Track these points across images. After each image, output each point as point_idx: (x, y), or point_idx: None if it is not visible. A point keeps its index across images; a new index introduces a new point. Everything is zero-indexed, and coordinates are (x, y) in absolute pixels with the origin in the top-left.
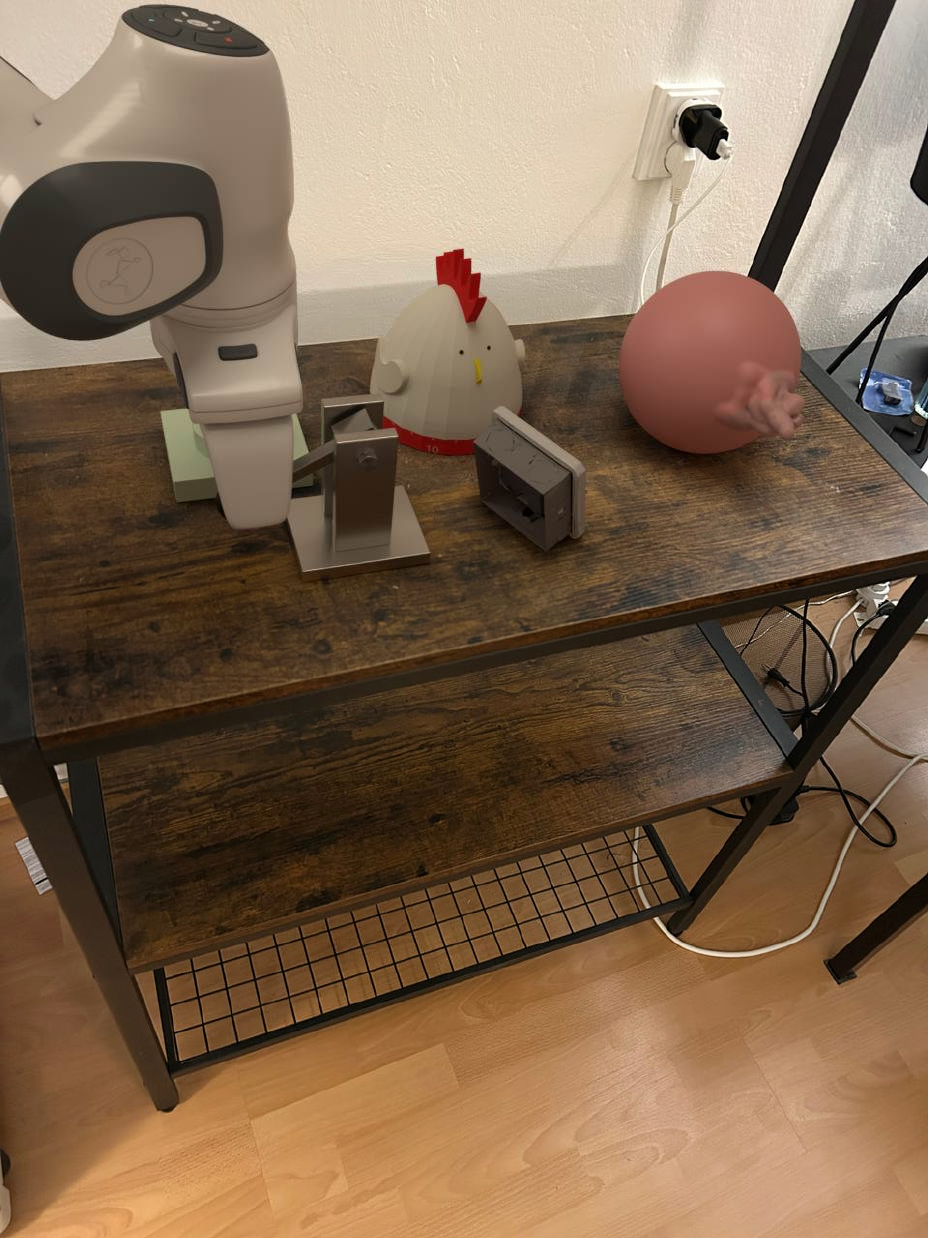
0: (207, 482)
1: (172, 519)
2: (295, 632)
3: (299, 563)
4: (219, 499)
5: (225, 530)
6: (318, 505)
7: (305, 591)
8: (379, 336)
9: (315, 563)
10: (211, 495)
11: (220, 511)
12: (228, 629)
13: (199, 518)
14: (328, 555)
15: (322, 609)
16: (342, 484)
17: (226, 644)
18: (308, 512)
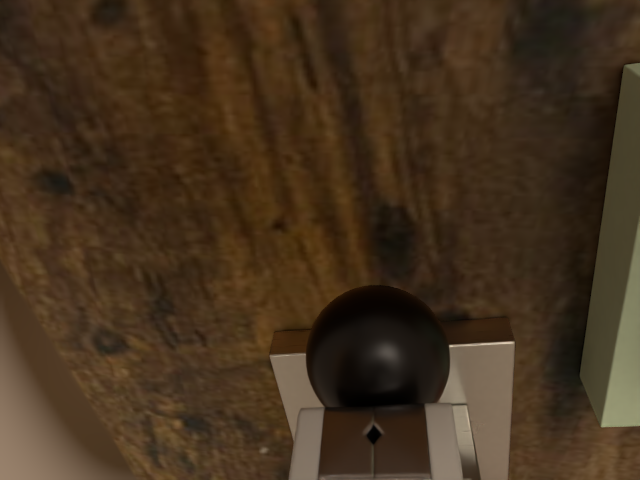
0: (635, 188)
1: (547, 52)
2: (138, 307)
3: (303, 347)
4: (349, 338)
5: (466, 194)
6: (477, 400)
7: (250, 332)
8: None
9: (293, 377)
10: (613, 170)
11: (334, 310)
12: (127, 189)
13: (531, 130)
14: (316, 398)
15: (203, 352)
16: None
17: (83, 183)
18: (458, 382)
